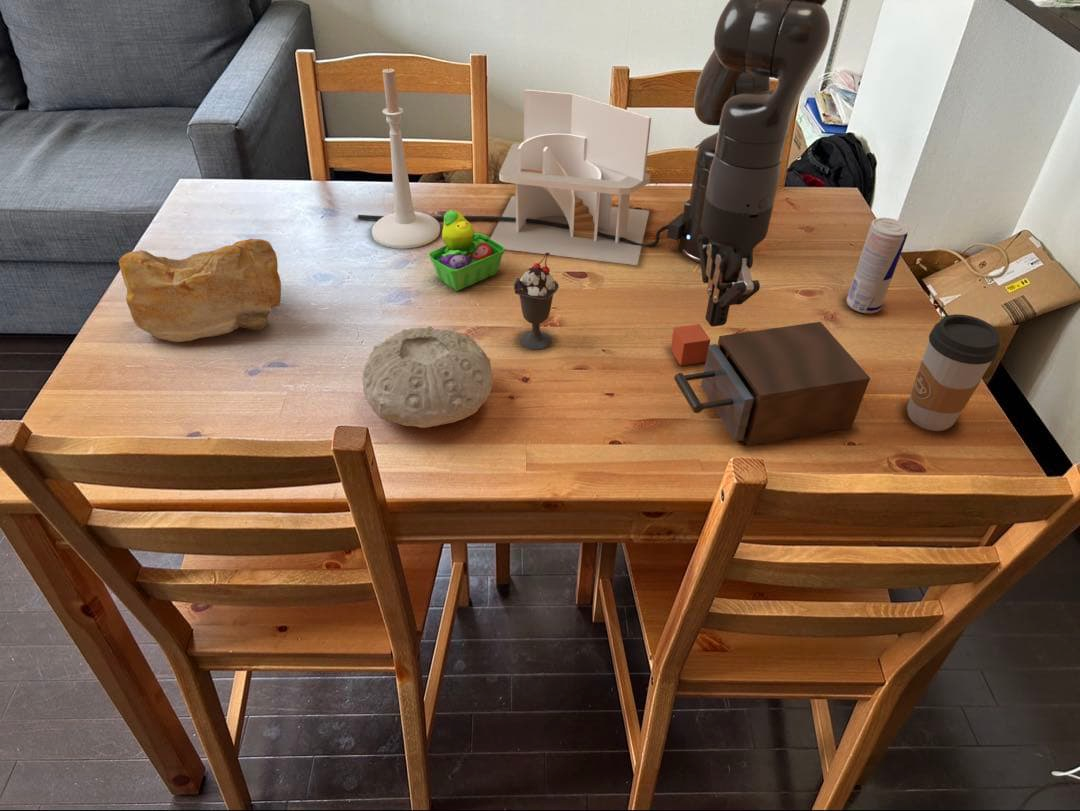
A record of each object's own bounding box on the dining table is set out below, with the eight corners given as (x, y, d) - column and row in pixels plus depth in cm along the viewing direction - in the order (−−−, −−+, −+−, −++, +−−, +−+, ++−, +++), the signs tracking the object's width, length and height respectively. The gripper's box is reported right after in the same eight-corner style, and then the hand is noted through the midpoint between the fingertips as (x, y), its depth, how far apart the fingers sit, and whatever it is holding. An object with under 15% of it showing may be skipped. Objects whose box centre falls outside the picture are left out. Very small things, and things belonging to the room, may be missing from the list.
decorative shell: (449, 349, 121) (444, 294, 114) (519, 410, 111) (518, 354, 104) (344, 395, 112) (333, 339, 106) (410, 466, 102) (402, 408, 95)
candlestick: (404, 209, 155) (387, 49, 135) (454, 228, 150) (443, 65, 130) (357, 234, 147) (331, 69, 127) (408, 255, 142) (389, 86, 122)
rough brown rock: (308, 291, 134) (289, 207, 125) (288, 342, 121) (266, 253, 112) (170, 297, 133) (142, 214, 124) (135, 350, 120) (100, 261, 111)
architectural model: (485, 247, 144) (481, 121, 129) (512, 195, 160) (511, 78, 145) (637, 265, 140) (651, 137, 125) (649, 210, 156) (663, 91, 140)
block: (680, 365, 119) (684, 343, 116) (670, 349, 122) (673, 327, 119) (706, 362, 119) (710, 339, 117) (695, 345, 123) (699, 323, 120)
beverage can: (882, 317, 129) (912, 236, 119) (847, 313, 130) (873, 231, 120) (878, 298, 133) (907, 218, 123) (844, 294, 134) (870, 214, 124)
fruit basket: (455, 297, 132) (451, 237, 124) (424, 276, 137) (419, 217, 129) (507, 274, 137) (506, 215, 130) (476, 254, 142) (474, 196, 135)
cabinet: (747, 447, 106) (761, 395, 100) (708, 386, 115) (719, 335, 109) (851, 429, 109) (870, 378, 102) (805, 371, 118) (820, 321, 112)
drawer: (695, 448, 104) (703, 406, 99) (663, 391, 113) (670, 350, 108) (832, 424, 108) (847, 383, 103) (791, 372, 116) (803, 331, 112)
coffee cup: (888, 399, 114) (923, 313, 104) (943, 396, 114) (983, 310, 104) (913, 438, 107) (953, 351, 97) (972, 435, 108) (1017, 348, 98)
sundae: (562, 332, 125) (565, 249, 115) (548, 357, 120) (551, 272, 110) (523, 324, 126) (523, 241, 116) (508, 348, 121) (507, 263, 112)
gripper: (686, 172, 91) (668, 297, 103) (734, 226, 82) (708, 358, 93) (745, 166, 93) (721, 291, 104) (799, 218, 83) (766, 349, 94)
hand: (715, 322), depth 98 cm, fingers closed
